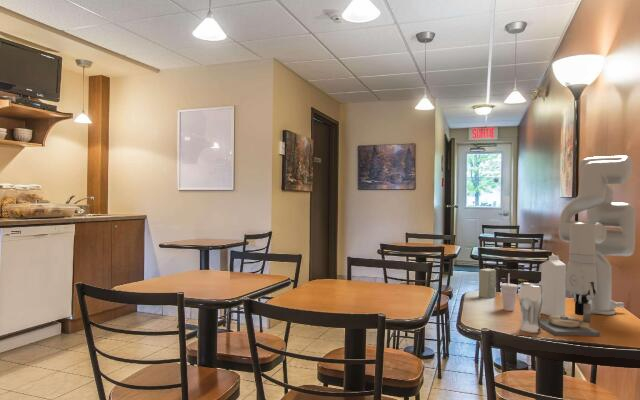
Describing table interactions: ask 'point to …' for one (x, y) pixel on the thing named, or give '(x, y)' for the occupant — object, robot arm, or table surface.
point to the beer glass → (531, 306)
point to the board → (567, 329)
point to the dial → (572, 319)
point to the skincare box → (487, 283)
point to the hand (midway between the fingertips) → (580, 314)
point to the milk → (553, 286)
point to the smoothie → (509, 294)
